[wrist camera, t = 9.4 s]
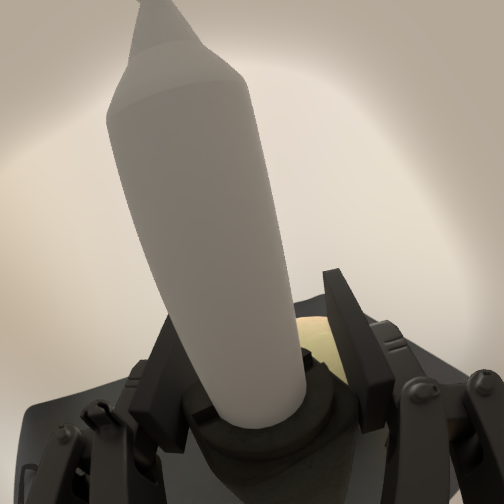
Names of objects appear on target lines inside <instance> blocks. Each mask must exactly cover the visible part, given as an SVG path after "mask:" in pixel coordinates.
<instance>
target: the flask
mask: <svg viewBox="0 0 504 504" xmlns="http://www.w3.org/2000/svg"><path fill="white" fill-rule="evenodd" d="M296 322H297V328H298V334H299V340H300V346H301V347H302V348H306V349H308V350H309V351H311V352H312V356H313V357H314V358H315V359H316V360H318V361H319V362H320V363H322V362H324V363H325V364H326V365H327V366H328V368H329V370H330V371H331V372H332V373H334V374H335V375H336V376H337V377H339V378H340V379H341V380H342V381H344V382H345V383H346V384H347V385H348V382H347V379H346V376H345V373H344V369H343V366H342V363H341V360H340V357H339V353H338V350H337V347H336V344H335V341H334V338H333V335H332V332H331V329H330V326H329V323H328V319H327V317H318V316H317V317H302V318H296Z"/></svg>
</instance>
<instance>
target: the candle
mask: <svg viewBox="0 0 504 504" xmlns="http://www.w3.org/2000/svg"><path fill="white" fill-rule="evenodd" d="M137 1H138V2H139V3H140V8H139V12H138V16H137V20H136V24H135V29H134V34H133V39H132V44H131V49H130V54H129V61H128V66H127V68H126V70H125V72H124V74H123V76H122V78H121V80H120V82H119V84H118V86H117V88H116V91H115V93H114V96H113V98H112V101H111V103H110V106H109V109H108V112H107V117H106V120H107V121H106V124H107V129H108V133H109V138H110V142H111V146H112V150H113V154H114V158H115V161H116V165H117V169H118V172H119V176H120V180H121V183H122V187H123V190H124V193H125V197H126V200H127V203H128V207H129V210H130V212H131V216H132V219H133V222H134V225H135V228H136V231H137V234H138V237H139V240H140V242H141V245H142V248H143V251H144V253H145V256H146V259H147V261H148V264H149V267H150V270H151V272H152V275H153V277H154V280H155V282H156V285H157V287H158V290H159V292H160V295H161V297H162V299H163V302H164V304H165V306H166V309H167V311H168V314H169V316H170V318H171V320H172V323H173V325H174V327H175V329H176V331H177V334H178V336H179V338H180V340H181V342H182V344H183V347H184V349H185V351H186V353H187V355H188V357H189V359H190V361H191V363H192V365H193V367H194V369H195V371H196V373H197V375H198V377H199V379H197V380H196V381H194V382H193V383H192V384H191V385H189V386H188V388H187V389H186V390H185V392H184V394H183V396H182V401H181V405H182V410H183V413H184V415H185V417H186V420H187V422H188V424H189V426H190V428H191V431H192V433H193V435H194V437H195V439H196V441H197V443H198V445H199V447H200V449H201V451H202V453H203V455H204V457H205V459H206V461H207V463H208V465H209V467H210V469H211V470H212V472H213V473H214V474H215V476H216V477H217V478H218V479H219V480H220V481H221V482H222V483H223V484H224V485H225V486H226V487H227V488H228V489H230V490H231V491H232V492H233V493H234V494H235V495H236V496H237V497H238V498H239V499H240V500H241V501H243V502H244V503H245V504H344V501H345V497H346V493H347V488H348V483H349V478H350V473H351V468H352V462H353V456H354V450H355V444H356V437H357V430H358V422H359V413H360V403H359V399H358V396H357V394H356V392H355V391H354V390H353V389H352V388H351V387H350V386H349V385H347V384H346V383H345V382H344V381H342V380H341V379H340V378H339V377H337V376H336V375H335V374H334V373H332V372H331V371H330V370H329V368H328V366H327V365H326V364H325V363H324V362H322V363H320V362H319V361H318V360H316V359H315V358H314V357H313V356H312V352H311V351H309V350H308V349H306V348H302V347H301V346H300V340H299V334H298V328H297V322H296V317H295V311H294V305H293V300H292V294H291V288H290V283H289V278H288V272H287V267H286V261H285V256H284V251H283V246H282V241H281V236H280V231H279V226H278V221H277V216H276V211H275V206H274V201H273V197H272V192H271V187H270V182H269V178H268V173H267V168H266V164H265V159H264V155H263V150H262V146H261V141H260V137H259V133H258V128H257V124H256V120H255V115H254V111H253V107H252V104H251V99H250V95H249V90H248V87H247V84H246V82H245V80H244V78H243V77H242V76H241V75H240V74H239V73H238V72H237V71H235V69H233V68H232V67H231V66H230V65H229V64H228V63H227V62H225V61H224V60H223V59H222V58H220V57H219V56H217V55H216V54H215V53H213V52H212V51H211V50H209V49H208V48H207V47H205V46H204V45H203V44H202V42H201V41H200V40H199V38H198V36H197V35H196V34H195V32H194V31H193V30H192V28H191V26H190V25H189V24H188V22H187V21H186V19H185V18H184V16H183V15H182V14H181V12H180V11H179V10H178V8H177V7H176V6H175V5H174V3H173V2H172V0H137Z"/></svg>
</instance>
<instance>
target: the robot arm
mask: <svg viewBox="0 0 504 504" xmlns="http://www.w3.org/2000/svg"><path fill="white" fill-rule="evenodd" d="M323 280H324V289H325V299H326V309H327V319H328V323H329V326H330V329H331V332H332V335H333V338H334V341H335V344H336V347H337V350H338V353H339V357H340V360H341V363H342V366H343V369H344V373H345V376H346V379H347V382H348V385H349V386H350V387H351V388H352V389H353V390H354V391H355V392H356V394H357V396H358V399H359V403H360V413H359V424H360V428H361V431H362V434H365V433H368V432H372V431H375V430H379V429H382V428H384V426H385V422H387V425H388V428H389V430H390V431H389V435H388V438H387V440H386V444H385V447H387V456H386V466H385V476H384V484H383V491H382V498H381V504H449V494H450V456H451V459H452V463H453V466H454V469H455V473H456V476H457V480H458V484H459V487H460V491H461V495H462V500H463V503H464V504H504V382H503V381H502V379H501V378H500V376H499V375H498V374H497V373H495V372H493V371H491V370H486V369H483V370H478V371H476V372H475V373H473V374H472V375H471V376H470V378H469V379H468V381H467V382H466V383H458V384H449V385H444V384H439V383H438V382H437V381H436V380H435V379H432V378H430V377H427V376H426V374H425V373H424V371H423V369H422V367H421V366H420V364H419V362H418V360H417V359H416V357H415V355H414V354H413V352H412V350H411V348H410V347H409V346H408V343H407V342H406V340H405V338H403V335H402V333H401V332H400V330H399V328H398V327H397V326H396V325H394V324H393V323H391V322H390V321H388V320H385V321H381V322H377V323H373V324H370V325H369V323H368V321H367V319H366V317H365V315H364V313H363V311H362V310H361V308H360V306H359V304H358V302H357V300H356V298H355V297H354V295H353V293H352V291H351V289H350V287H349V285H348V284H347V282H346V280H345V278H344V277H343V275H342V273H341V271H340V269H339V268H337V269H333V270H328V271H323ZM197 379H199V377H198V375H197V373H196V371H195V369H194V367H193V365H192V363H191V361H190V359H189V357H188V355H187V353H186V351H185V349H184V347H183V344H182V342H181V340H180V338H179V336H178V334H177V331H176V329H175V327H174V325H173V323H172V320H171V318H170V316H169V314H168V316H167V318H166V320H165V322H164V325H163V327H162V329H161V331H160V334H159V336H158V338H157V340H156V343H155V345H154V347H153V350H152V352H151V354H150V357H149V359H148V360H140V361H139V362H138V363H137V364H136V365H135V366H134V367H133V368H132V370H131V373H130V375H129V377H128V380H127V382H126V384H125V388H123V391H122V393H121V395H120V397H119V400H118V402H117V404H116V407H115V409H114V408H113V406H112V405H111V404H110V403H109V402H108V401H106V400H95V401H93V402H91V403H89V404H88V405H86V406H85V408H84V409H83V410H82V412H81V415H80V417H81V418H82V420H83V421H84V422H85V423H86V424H87V425H88V426H89V427H90V428H91V429H87V430H81V431H79V430H78V429H77V428H76V427H75V426H74V425H73V424H70V423H63V424H61V425H59V426H58V427H57V428H56V429H55V430H54V431H53V433H52V435H51V437H50V440H49V442H48V444H47V447H46V449H45V452H44V454H43V457H42V459H41V462H40V464H39V467H38V470H37V472H36V475H35V478H34V481H33V484H32V486H31V489H30V492H29V495H28V499H27V502H26V504H167V500H166V494H165V487H164V480H163V473H162V465H161V460H160V457H159V456H158V455H157V454H156V452H157V448H158V446H159V447H160V448H161V449H162V450H163V451H164V452H167V453H184V451H185V445H186V440H187V435H188V430H189V424H188V422H187V420H186V417H185V415H184V413H183V410H182V405H181V401H182V396H183V394H184V392H185V390H186V389H187V388H188V386H189V385H191V384H192V383H193V382H194V381H196V380H197ZM449 453H450V455H449ZM77 467H78V468H79V469H81V470H82V472H81V474H79V475H78V474H77V473H76V468H77Z"/></svg>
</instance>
